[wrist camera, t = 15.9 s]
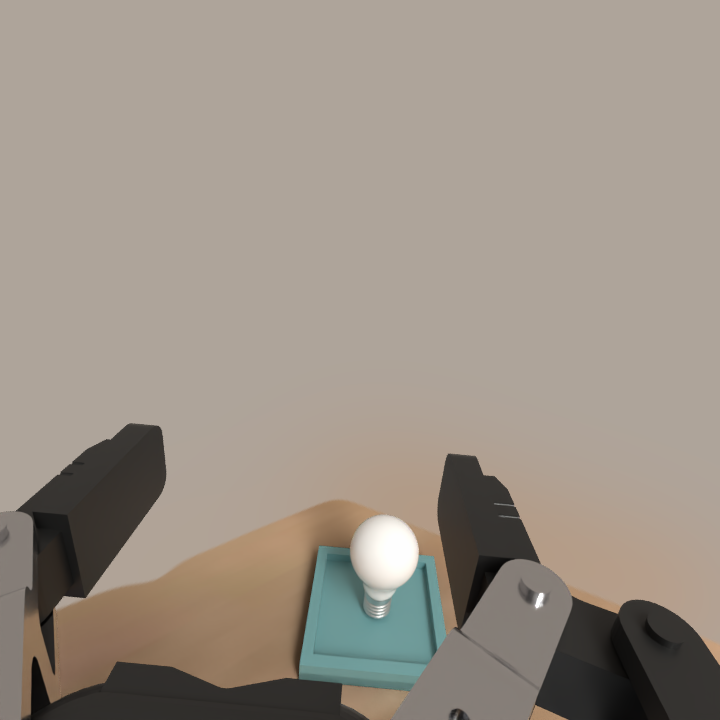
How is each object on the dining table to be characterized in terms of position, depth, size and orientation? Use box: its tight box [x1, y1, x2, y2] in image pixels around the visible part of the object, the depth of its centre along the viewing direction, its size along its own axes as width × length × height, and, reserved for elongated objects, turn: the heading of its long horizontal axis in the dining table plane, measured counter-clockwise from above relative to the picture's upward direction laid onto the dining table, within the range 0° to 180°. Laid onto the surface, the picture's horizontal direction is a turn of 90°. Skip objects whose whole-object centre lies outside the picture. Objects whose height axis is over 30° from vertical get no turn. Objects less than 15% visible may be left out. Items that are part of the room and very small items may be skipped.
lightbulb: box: [350, 514, 419, 619], centre depth 40 cm, size 6×6×11 cm
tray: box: [299, 546, 446, 691], centre depth 42 cm, size 13×13×2 cm
